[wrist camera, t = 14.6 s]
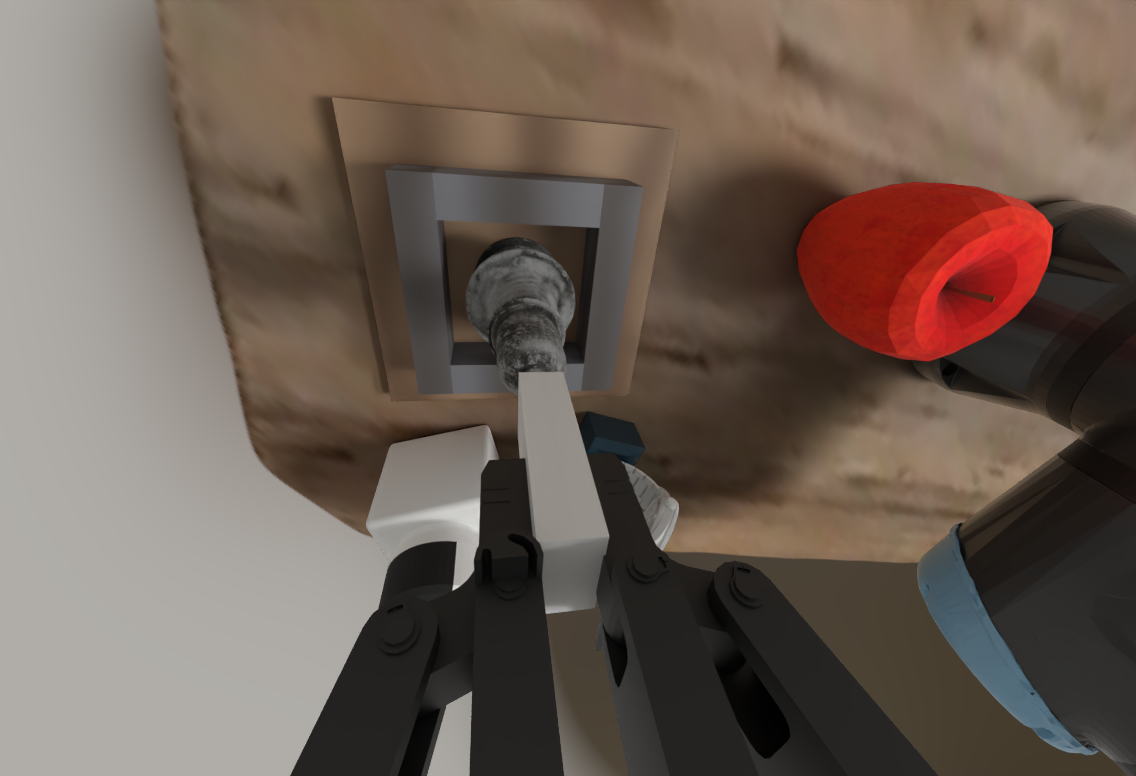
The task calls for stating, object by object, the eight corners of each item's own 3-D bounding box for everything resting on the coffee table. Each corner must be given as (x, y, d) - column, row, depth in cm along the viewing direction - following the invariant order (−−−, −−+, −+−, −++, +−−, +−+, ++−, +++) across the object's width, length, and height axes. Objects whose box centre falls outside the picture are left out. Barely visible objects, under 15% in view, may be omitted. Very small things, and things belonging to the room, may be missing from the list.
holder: (672, 129, 22) (703, 131, 19) (624, 387, 31) (640, 419, 28) (338, 98, 19) (307, 93, 16) (394, 393, 28) (381, 428, 25)
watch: (623, 473, 37) (667, 588, 28) (542, 456, 34) (560, 578, 25) (653, 427, 34) (712, 537, 25) (568, 405, 32) (598, 519, 22)
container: (422, 507, 35) (393, 676, 25) (388, 442, 31) (334, 613, 20) (510, 488, 36) (518, 646, 25) (488, 421, 31) (487, 579, 21)
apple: (765, 319, 30) (881, 403, 21) (763, 198, 25) (913, 241, 16) (881, 278, 30) (1048, 346, 21) (902, 147, 25) (1133, 163, 16)
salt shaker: (536, 212, 23) (573, 284, 13) (581, 299, 26) (637, 410, 16) (447, 263, 23) (416, 369, 13) (501, 342, 27) (509, 473, 17)
